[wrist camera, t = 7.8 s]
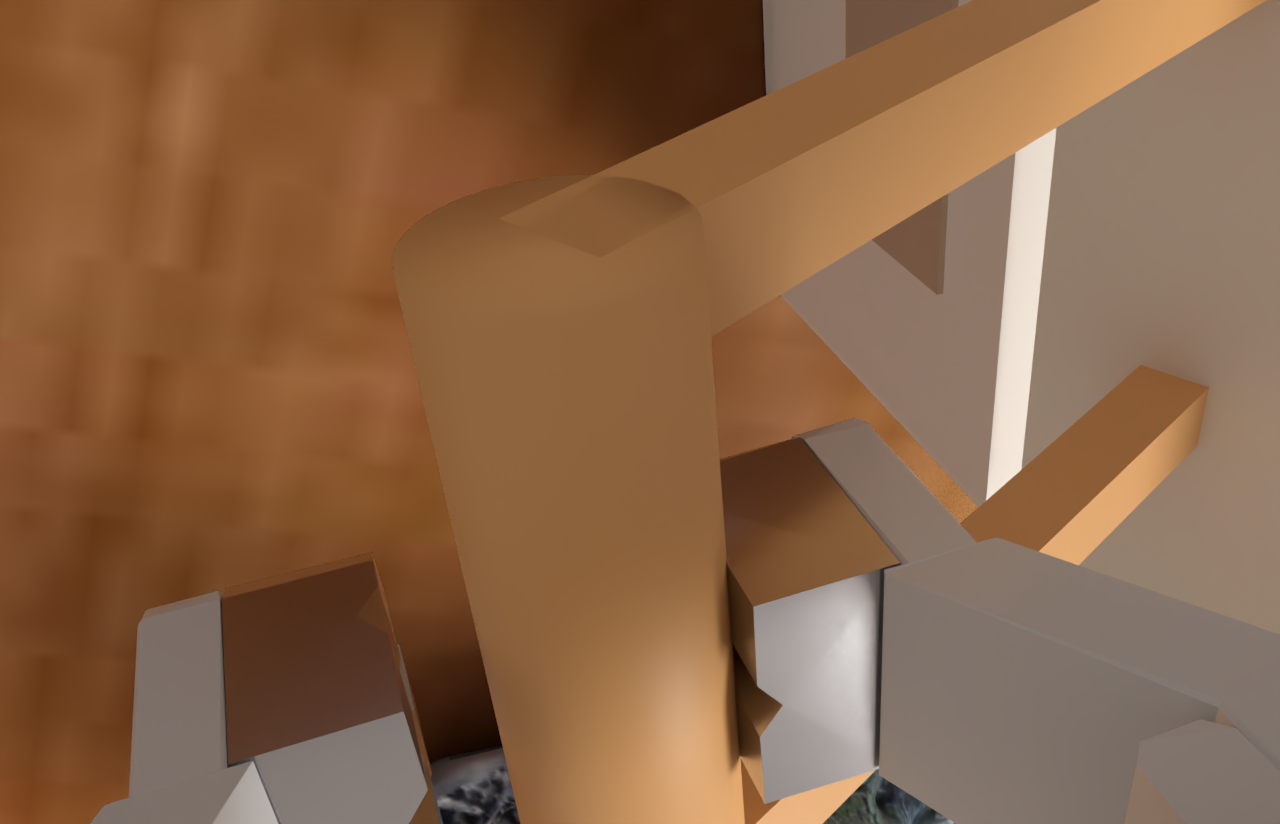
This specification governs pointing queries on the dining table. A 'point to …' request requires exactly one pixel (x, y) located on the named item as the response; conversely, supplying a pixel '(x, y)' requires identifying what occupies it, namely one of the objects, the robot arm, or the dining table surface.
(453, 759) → the tree stump
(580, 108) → the dining table surface
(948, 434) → the carton
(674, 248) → the orange-handle flap
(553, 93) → the dining table surface
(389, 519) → the dining table surface
